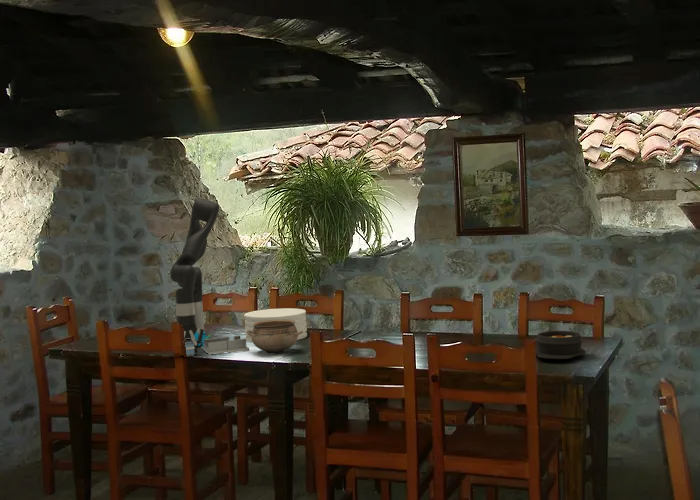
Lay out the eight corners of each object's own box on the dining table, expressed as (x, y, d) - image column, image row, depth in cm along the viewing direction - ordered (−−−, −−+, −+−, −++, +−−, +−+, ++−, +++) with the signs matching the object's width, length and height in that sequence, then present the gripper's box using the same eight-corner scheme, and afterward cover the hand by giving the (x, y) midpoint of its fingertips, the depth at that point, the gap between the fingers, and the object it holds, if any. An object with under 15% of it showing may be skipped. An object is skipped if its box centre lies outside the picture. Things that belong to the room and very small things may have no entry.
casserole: (580, 365, 264) (579, 340, 264) (526, 362, 273) (525, 339, 272) (591, 351, 287) (590, 328, 287) (540, 349, 295) (539, 327, 295)
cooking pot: (312, 348, 320) (311, 319, 319) (294, 357, 302) (293, 326, 301) (258, 347, 328) (256, 319, 327) (237, 356, 310) (235, 326, 309)
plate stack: (269, 345, 333) (267, 319, 332) (233, 339, 354) (232, 314, 353) (319, 335, 351) (318, 310, 350) (283, 330, 372) (281, 306, 371)
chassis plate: (201, 349, 330) (200, 338, 330) (240, 345, 336) (239, 334, 336) (208, 355, 315) (208, 344, 315) (249, 350, 321) (248, 339, 321)
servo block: (180, 353, 322) (180, 342, 322) (190, 352, 324) (189, 341, 323) (185, 358, 312) (184, 346, 312) (195, 357, 313) (194, 345, 313)
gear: (195, 345, 332) (186, 327, 337) (189, 354, 334) (180, 336, 339) (216, 344, 340) (206, 327, 345) (209, 353, 343) (200, 335, 347)
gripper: (201, 311, 322) (203, 351, 323) (166, 314, 317) (169, 355, 318) (204, 313, 315) (207, 354, 316) (169, 316, 310) (171, 358, 311)
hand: (188, 354), depth 317 cm, fingers open, 4 cm apart
